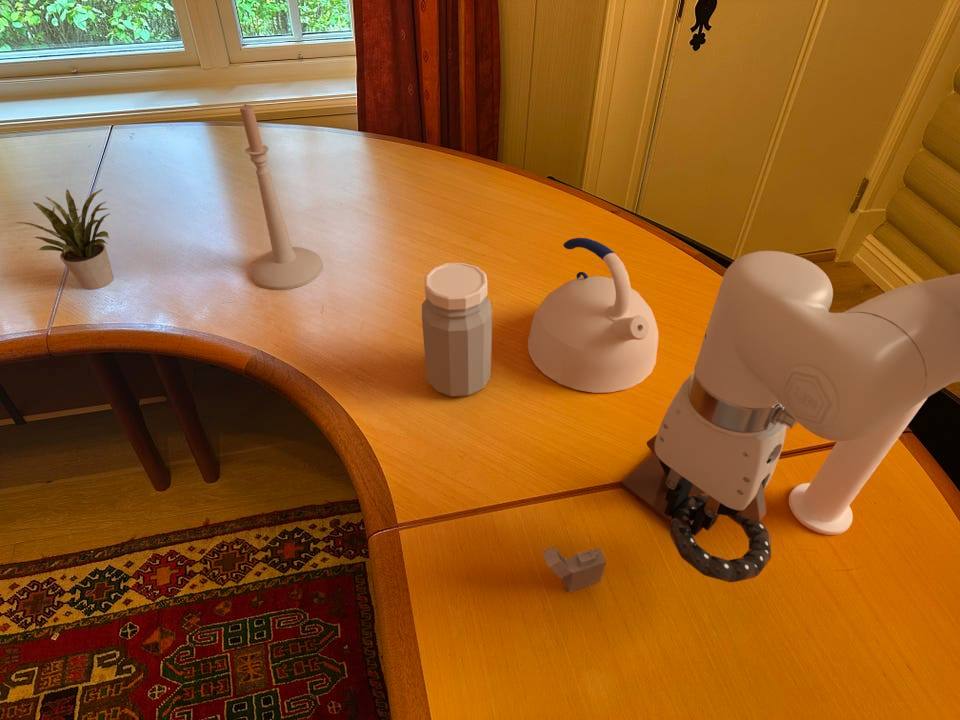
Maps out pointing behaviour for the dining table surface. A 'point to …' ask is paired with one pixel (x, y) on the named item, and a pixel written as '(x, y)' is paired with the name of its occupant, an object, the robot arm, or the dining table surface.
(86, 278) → the house plant
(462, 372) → the jar
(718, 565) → the studded rubber donut
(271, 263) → the candlestick
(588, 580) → the lighter
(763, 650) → the dining table surface
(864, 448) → the candle
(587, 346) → the kettle
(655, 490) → the square plate with peg
